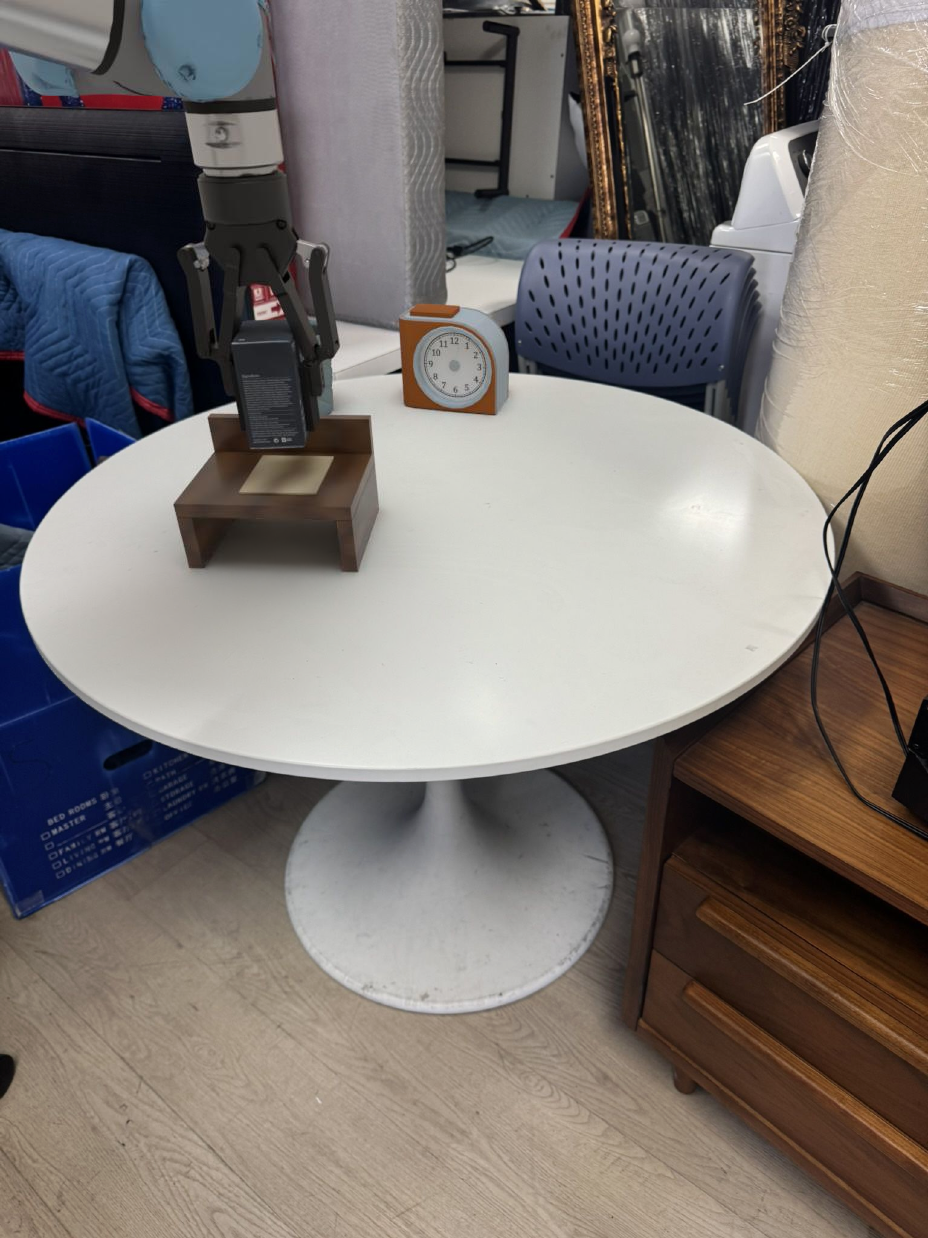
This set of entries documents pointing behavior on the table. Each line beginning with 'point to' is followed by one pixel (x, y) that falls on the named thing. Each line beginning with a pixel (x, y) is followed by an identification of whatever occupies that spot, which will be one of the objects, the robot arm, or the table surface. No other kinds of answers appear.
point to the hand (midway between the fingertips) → (281, 425)
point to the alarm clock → (453, 359)
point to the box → (270, 384)
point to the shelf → (283, 485)
